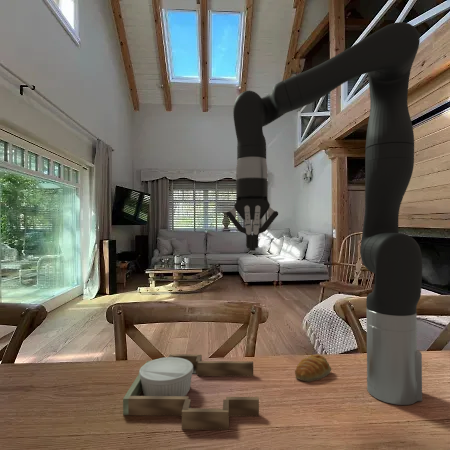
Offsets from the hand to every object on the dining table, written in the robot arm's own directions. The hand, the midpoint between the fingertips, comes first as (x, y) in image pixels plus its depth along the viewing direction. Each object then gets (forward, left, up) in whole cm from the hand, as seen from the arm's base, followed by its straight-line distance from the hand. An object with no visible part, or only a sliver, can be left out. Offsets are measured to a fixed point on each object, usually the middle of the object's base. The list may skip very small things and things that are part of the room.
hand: (252, 250), depth 78 cm
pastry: (-14, +1, -30) cm, 33 cm away
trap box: (+12, +10, -29) cm, 33 cm away
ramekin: (+19, +10, -29) cm, 36 cm away
